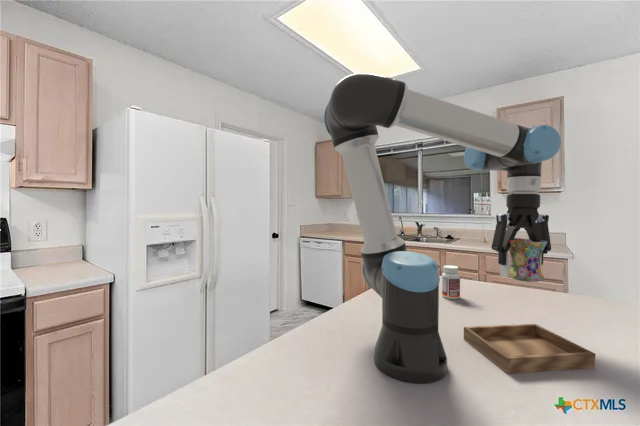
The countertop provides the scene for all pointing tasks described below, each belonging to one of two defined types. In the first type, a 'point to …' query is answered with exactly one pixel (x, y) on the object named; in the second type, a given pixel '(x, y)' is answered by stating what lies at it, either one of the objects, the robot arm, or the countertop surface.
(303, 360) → the countertop surface
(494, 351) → the tray
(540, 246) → the mug
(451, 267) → the pill bottle
